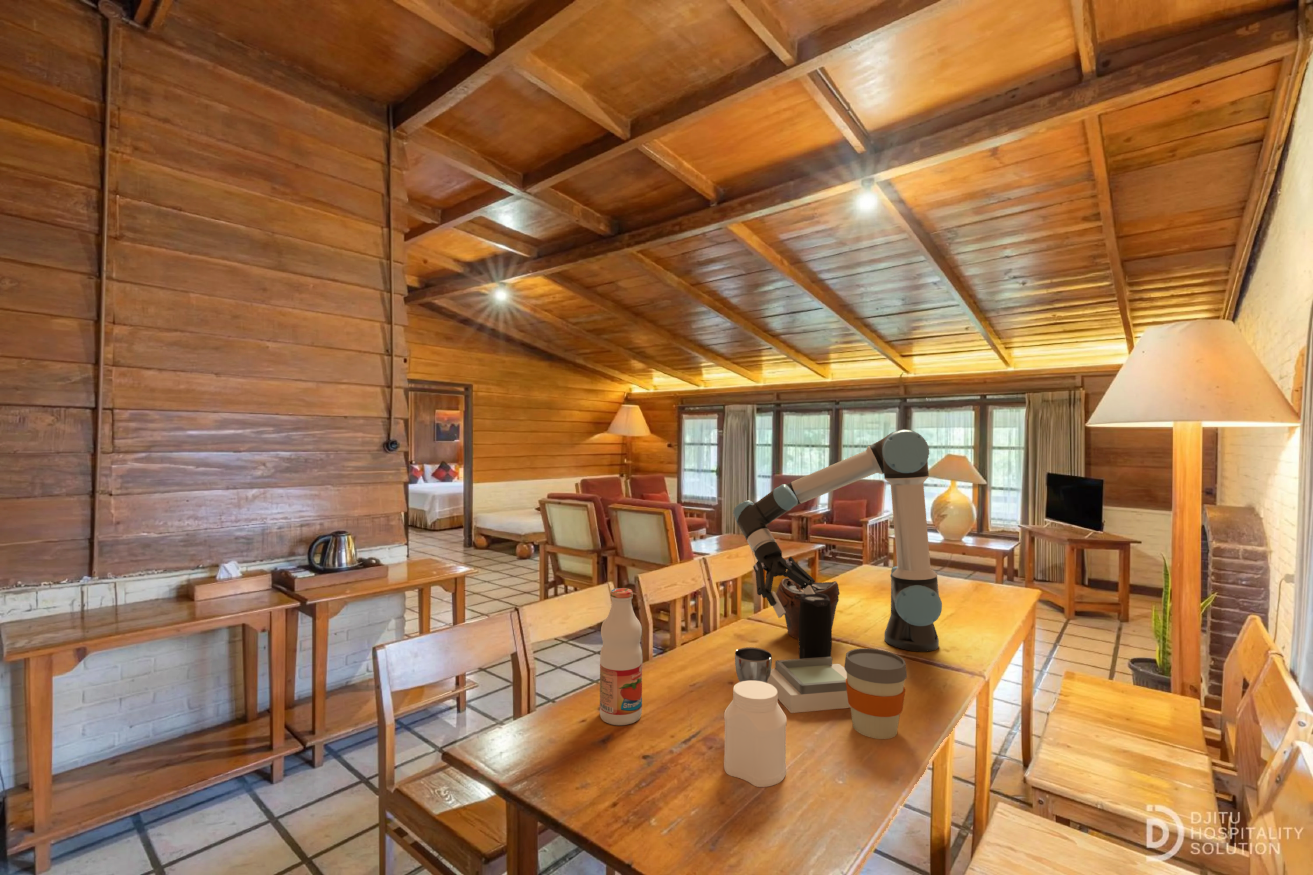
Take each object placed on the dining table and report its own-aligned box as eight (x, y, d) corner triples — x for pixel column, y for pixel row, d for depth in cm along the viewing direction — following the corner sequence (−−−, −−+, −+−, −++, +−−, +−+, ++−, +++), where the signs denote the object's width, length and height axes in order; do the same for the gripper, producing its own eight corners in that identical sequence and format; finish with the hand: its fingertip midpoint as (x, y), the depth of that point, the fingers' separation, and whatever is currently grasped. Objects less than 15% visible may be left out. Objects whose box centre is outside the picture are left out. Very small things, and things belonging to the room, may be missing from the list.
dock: (856, 677, 151) (856, 654, 151) (890, 703, 137) (890, 678, 137) (765, 684, 146) (765, 661, 146) (790, 712, 132) (791, 686, 132)
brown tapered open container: (767, 626, 192) (769, 571, 191) (826, 624, 194) (827, 571, 193) (785, 646, 174) (787, 587, 173) (850, 644, 176) (851, 586, 176)
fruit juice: (610, 703, 136) (611, 583, 136) (648, 710, 133) (648, 587, 133) (592, 722, 127) (593, 593, 127) (632, 729, 124) (633, 598, 124)
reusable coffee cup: (908, 748, 117) (908, 673, 117) (842, 736, 121) (843, 664, 121) (904, 719, 129) (905, 652, 129) (845, 710, 133) (845, 644, 133)
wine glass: (773, 716, 130) (774, 649, 130) (768, 734, 122) (769, 662, 122) (738, 711, 132) (738, 645, 132) (731, 727, 125) (731, 657, 125)
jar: (794, 768, 110) (794, 688, 110) (770, 792, 102) (771, 707, 102) (740, 748, 117) (741, 673, 117) (715, 769, 109) (715, 689, 109)
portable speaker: (821, 660, 162) (822, 590, 162) (837, 674, 153) (838, 600, 153) (792, 662, 161) (793, 592, 161) (807, 676, 152) (808, 601, 152)
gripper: (789, 550, 182) (825, 611, 169) (725, 559, 169) (759, 625, 156) (802, 536, 177) (839, 598, 165) (737, 543, 165) (773, 611, 152)
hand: (800, 611), depth 161 cm, fingers open, 13 cm apart
